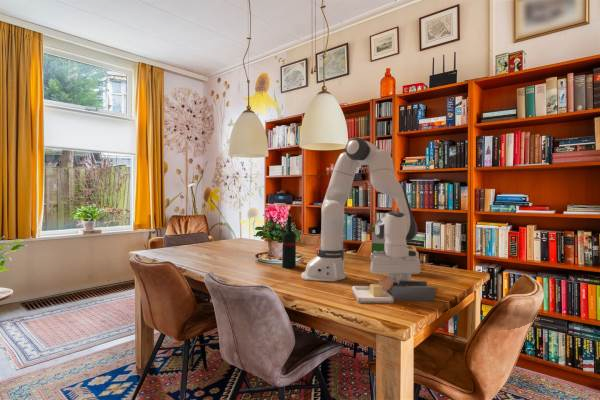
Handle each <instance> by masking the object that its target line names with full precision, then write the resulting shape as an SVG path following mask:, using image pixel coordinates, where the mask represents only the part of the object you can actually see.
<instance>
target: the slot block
mask: <svg viewBox="0 0 600 400" xmlns="http://www.w3.org/2000/svg"><path fill="white" fill-rule="evenodd" d="M387 291H388V292H389V293H390V294H391V295H392V297H393V298H394V302H395V301H396V302H397V301H400V302H401V301H404V302H407V301H409V302H413V301H414V302H435V296H436V294H435V293H436V288H435V286H434V285H433V286H432V285H431V286H429V285H428V281H427V280H411V281H410V280H399V285H393V286H391V289H388V290H387Z"/></svg>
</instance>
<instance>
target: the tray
mask: <svg viewBox="0 0 600 400" xmlns="http://www.w3.org/2000/svg"><path fill="white" fill-rule="evenodd" d="M351 289H352V290H351V291H352V293H353V294H354V297H355V299H356V300H357V303H358V304H360V303H361V304H394V302H395V301H394V298H393V297H392V295H391V294H390V293H389V292H388V291H387V290H386V291H384V290H383V296H377V297H373V296H372V295H371V294H370V285H352V287H351Z"/></svg>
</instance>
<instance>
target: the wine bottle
mask: <svg viewBox="0 0 600 400" xmlns="http://www.w3.org/2000/svg"><path fill="white" fill-rule="evenodd" d="M286 219H287V222H286V223H287V224H286V225H287V230H286V231H284V233H283V234H282V249H281V250H282V254H281V256H282V257H281V262H282V263H281V264H282V265H281V266H282V268H283V269H289V270H291V269H296V267H297V265H296V263H297V262H296V261H297V260H296V258H297V257H296V256H297V253H296V251H297V240H296V239H297V238H296V237H297V236H296V233H295V232H294V231H293V230H292V214H291V213H290V214H289V213H287V218H286Z"/></svg>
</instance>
